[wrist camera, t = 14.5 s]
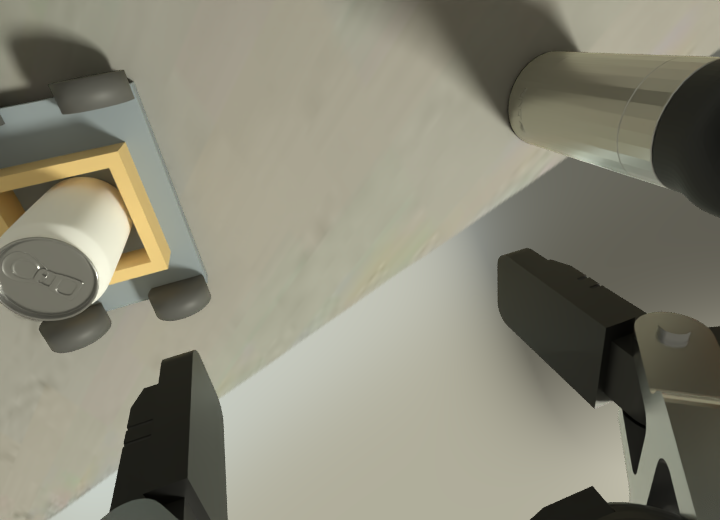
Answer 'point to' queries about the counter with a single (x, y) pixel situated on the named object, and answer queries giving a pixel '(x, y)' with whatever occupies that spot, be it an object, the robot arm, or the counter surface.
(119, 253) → the can
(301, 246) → the counter surface
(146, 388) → the robot arm
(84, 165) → the chassis
